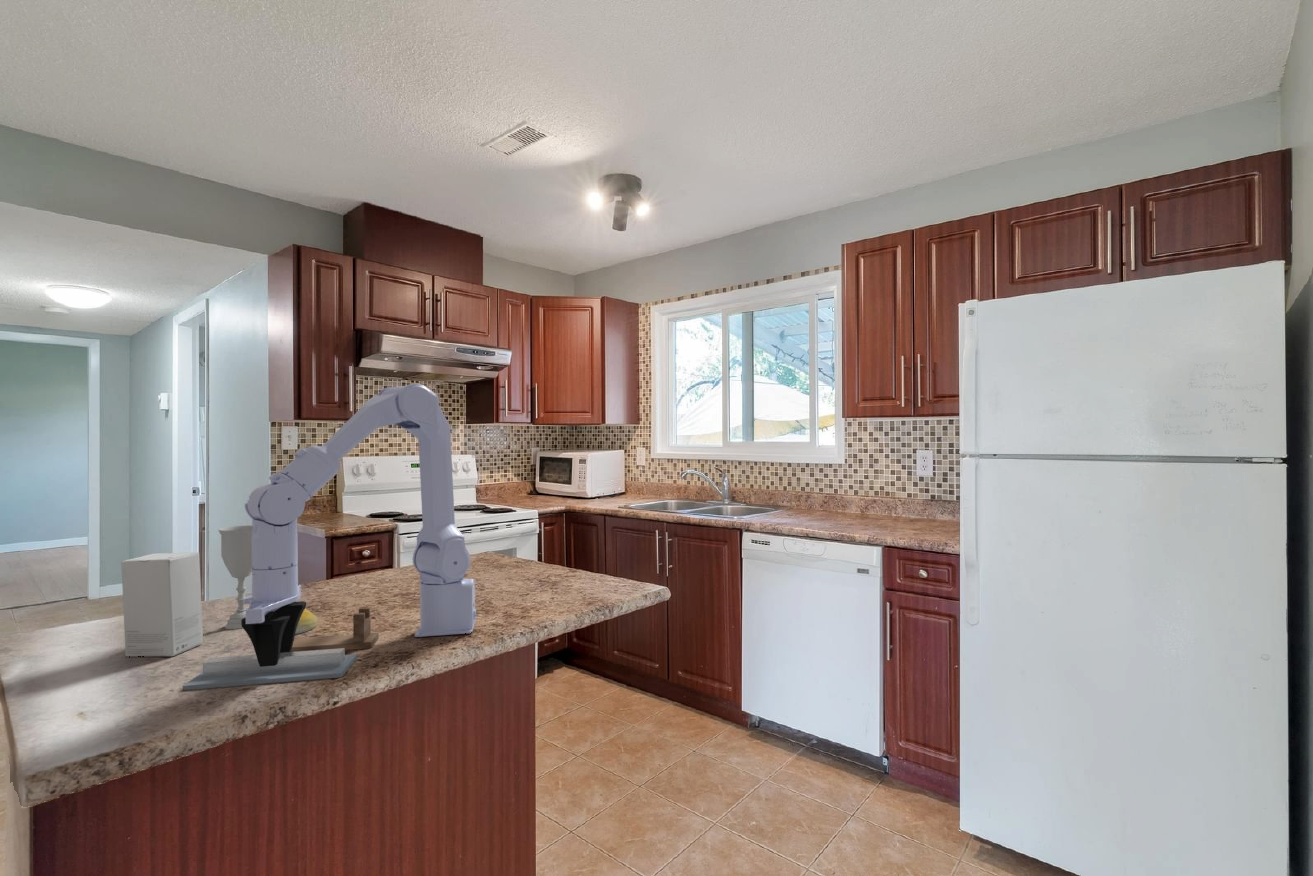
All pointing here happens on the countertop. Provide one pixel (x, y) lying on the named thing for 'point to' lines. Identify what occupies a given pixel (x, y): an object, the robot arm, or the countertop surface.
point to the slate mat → (270, 676)
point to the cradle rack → (342, 637)
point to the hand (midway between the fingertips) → (275, 659)
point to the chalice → (237, 564)
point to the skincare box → (162, 604)
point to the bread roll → (306, 622)
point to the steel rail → (285, 662)
